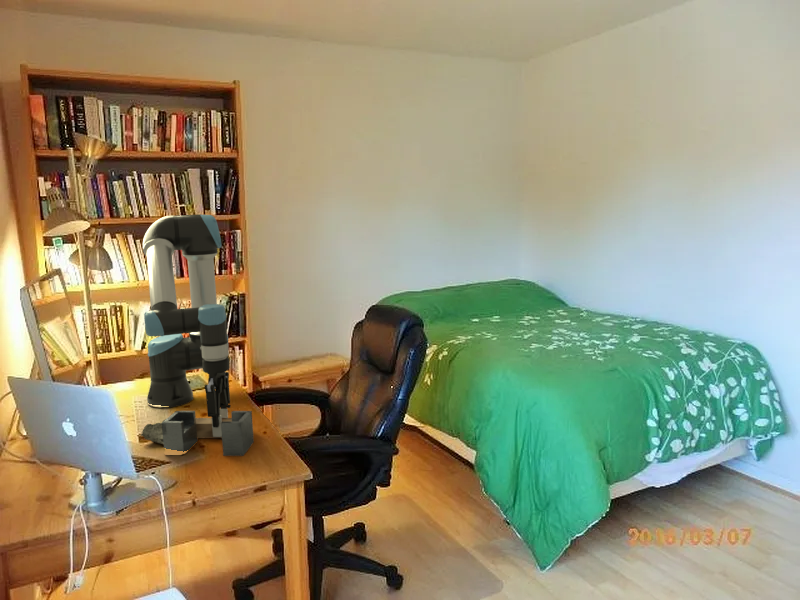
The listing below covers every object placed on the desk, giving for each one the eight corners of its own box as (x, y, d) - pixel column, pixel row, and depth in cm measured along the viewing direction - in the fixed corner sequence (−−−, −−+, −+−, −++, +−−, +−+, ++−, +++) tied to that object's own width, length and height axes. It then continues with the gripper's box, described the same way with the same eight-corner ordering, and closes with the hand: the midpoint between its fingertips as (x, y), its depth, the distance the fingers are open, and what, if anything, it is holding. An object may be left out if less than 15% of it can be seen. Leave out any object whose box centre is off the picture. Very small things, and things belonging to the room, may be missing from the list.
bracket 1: (179, 441, 178) (176, 410, 177) (197, 441, 178) (195, 410, 176) (164, 455, 169) (161, 422, 167) (184, 455, 169) (181, 422, 167)
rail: (189, 437, 180) (187, 423, 179) (195, 431, 185) (193, 417, 184) (248, 438, 179) (247, 423, 178) (253, 432, 183) (252, 418, 182)
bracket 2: (235, 442, 177) (232, 410, 175) (253, 442, 176) (251, 411, 175) (223, 455, 168) (220, 423, 166) (243, 455, 167) (240, 423, 166)
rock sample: (162, 438, 171) (154, 412, 175) (144, 454, 173) (136, 428, 177) (190, 441, 180) (181, 417, 184) (172, 456, 181) (165, 431, 186)
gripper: (214, 349, 186) (219, 421, 190) (190, 366, 169) (197, 445, 173) (238, 349, 186) (243, 421, 190) (216, 366, 168) (222, 445, 173)
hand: (221, 432), depth 182 cm, fingers closed on rail, 4 cm apart
